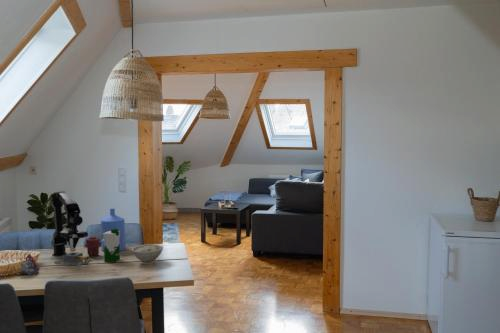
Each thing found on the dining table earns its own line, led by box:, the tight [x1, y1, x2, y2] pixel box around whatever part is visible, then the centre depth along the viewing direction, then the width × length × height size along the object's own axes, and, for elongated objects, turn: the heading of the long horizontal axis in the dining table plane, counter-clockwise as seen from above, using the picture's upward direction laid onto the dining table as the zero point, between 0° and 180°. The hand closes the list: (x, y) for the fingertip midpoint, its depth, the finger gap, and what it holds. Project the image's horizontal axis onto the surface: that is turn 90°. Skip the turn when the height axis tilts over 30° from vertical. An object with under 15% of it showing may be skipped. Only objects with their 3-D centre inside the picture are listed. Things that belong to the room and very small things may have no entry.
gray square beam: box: [69, 238, 76, 252], centre depth 301 cm, size 2×2×8 cm
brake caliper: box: [18, 253, 41, 276], centre depth 277 cm, size 11×11×12 cm
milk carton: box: [102, 229, 121, 263], centre depth 303 cm, size 9×9×20 cm
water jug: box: [100, 208, 126, 252], centre depth 331 cm, size 16×16×28 cm
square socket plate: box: [54, 251, 93, 266], centre depth 301 cm, size 19×12×5 cm, turn 75°
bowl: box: [131, 244, 164, 265], centre depth 298 cm, size 19×19×10 cm
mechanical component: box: [84, 236, 102, 258], centre depth 315 cm, size 12×10×10 cm
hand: (72, 247), depth 301 cm, fingers closed on gray square beam, 2 cm apart
